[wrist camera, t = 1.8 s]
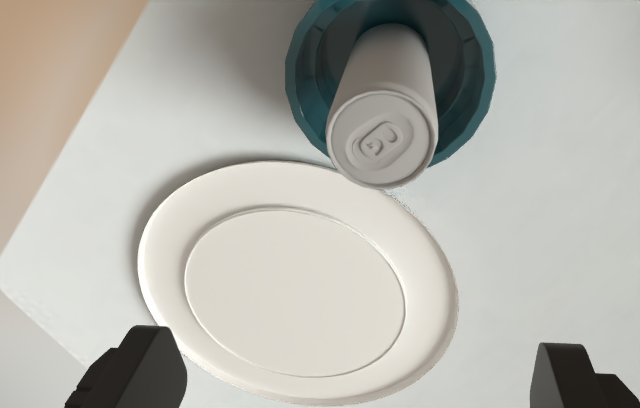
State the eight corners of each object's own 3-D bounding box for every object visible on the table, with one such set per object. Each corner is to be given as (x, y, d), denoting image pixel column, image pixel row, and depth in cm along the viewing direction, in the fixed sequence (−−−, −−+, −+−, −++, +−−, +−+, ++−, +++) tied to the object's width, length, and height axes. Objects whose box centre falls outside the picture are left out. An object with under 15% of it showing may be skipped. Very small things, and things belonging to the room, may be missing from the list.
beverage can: (335, 57, 30) (299, 137, 20) (394, 1, 28) (386, 61, 18) (384, 111, 32) (374, 211, 22) (445, 63, 30) (464, 149, 20)
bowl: (268, 67, 32) (247, 93, 28) (383, -88, 26) (379, -85, 22) (393, 170, 34) (391, 208, 30) (523, 49, 29) (543, 75, 25)
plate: (264, 423, 54) (262, 429, 53) (78, 243, 43) (73, 248, 42) (512, 356, 42) (514, 363, 42) (343, 88, 32) (342, 92, 31)
